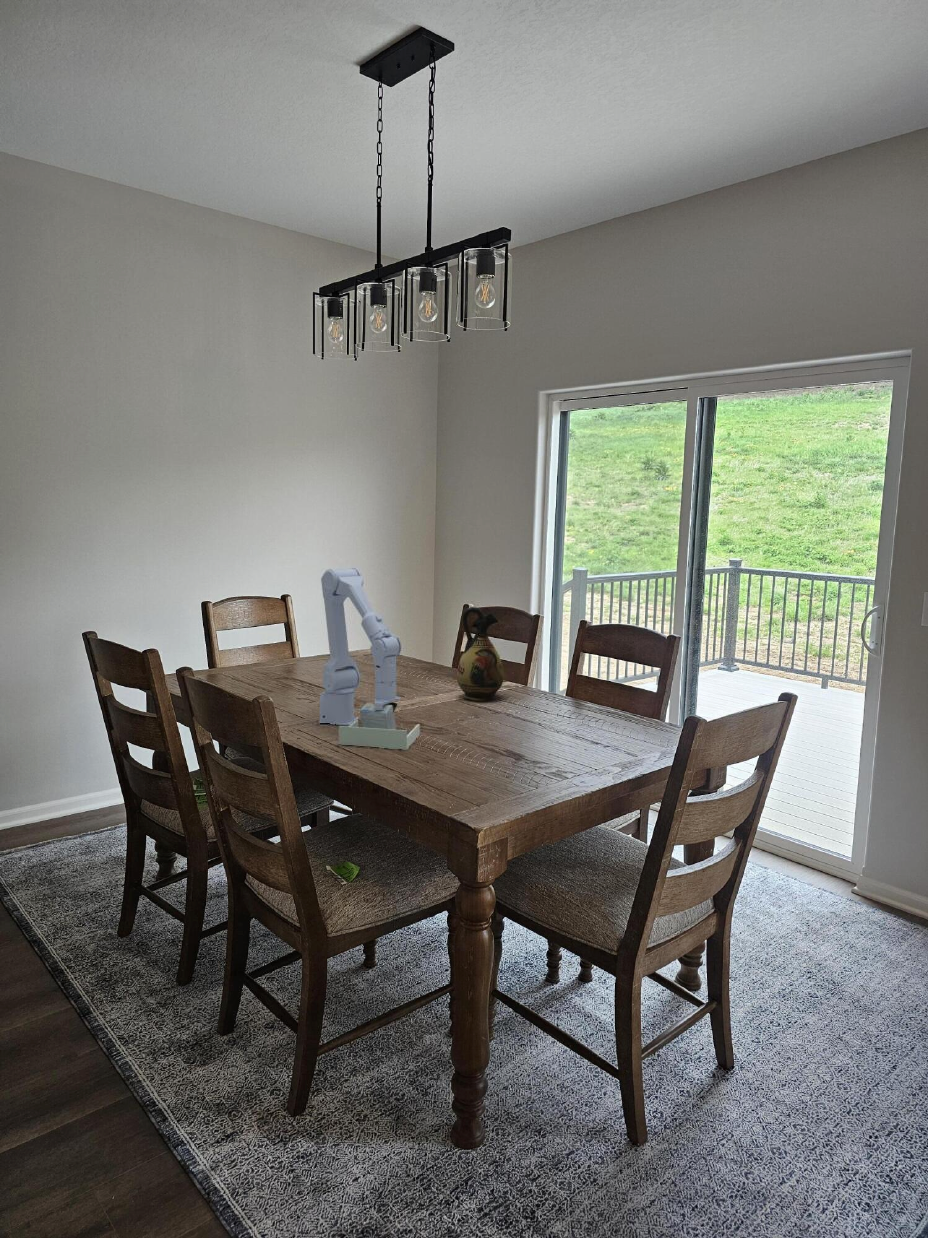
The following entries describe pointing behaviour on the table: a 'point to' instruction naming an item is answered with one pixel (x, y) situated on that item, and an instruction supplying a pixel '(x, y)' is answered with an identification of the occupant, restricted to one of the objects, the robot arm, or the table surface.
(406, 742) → the box
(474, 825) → the table surface
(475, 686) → the ceramic jug
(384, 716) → the medicine box
